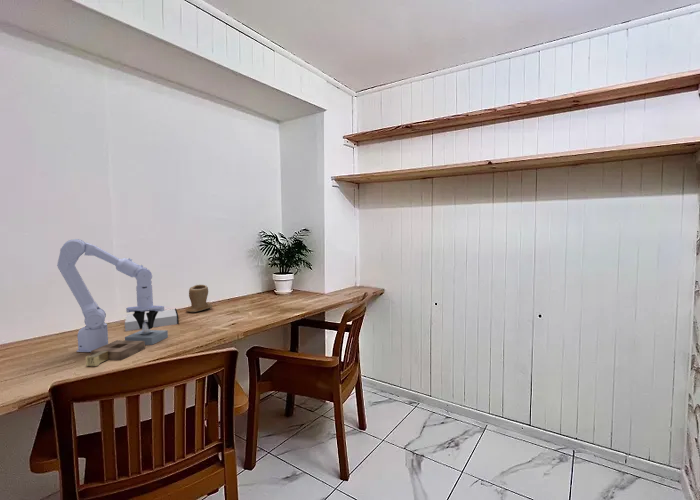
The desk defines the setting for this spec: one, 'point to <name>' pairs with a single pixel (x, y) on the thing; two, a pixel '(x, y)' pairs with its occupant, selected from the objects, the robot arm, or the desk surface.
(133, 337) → the block
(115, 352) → the socket block
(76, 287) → the robot arm
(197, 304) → the stone cup
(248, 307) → the desk surface
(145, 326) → the grey peg
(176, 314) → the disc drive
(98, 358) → the key
